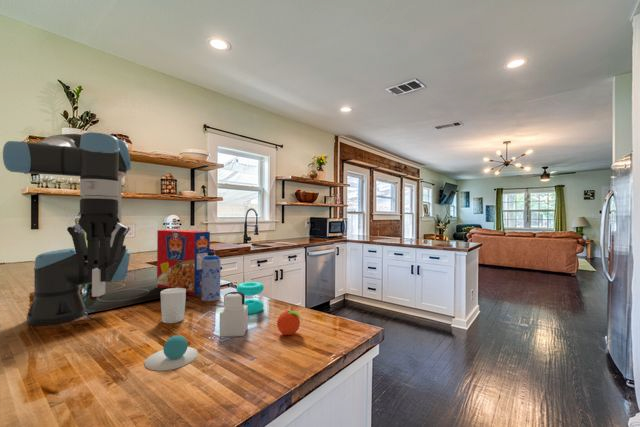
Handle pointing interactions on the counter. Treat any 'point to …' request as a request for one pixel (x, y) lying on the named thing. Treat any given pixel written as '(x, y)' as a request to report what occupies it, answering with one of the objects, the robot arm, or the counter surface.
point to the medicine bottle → (234, 315)
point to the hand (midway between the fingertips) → (98, 294)
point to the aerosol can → (210, 277)
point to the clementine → (288, 322)
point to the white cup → (173, 304)
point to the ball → (175, 347)
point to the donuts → (251, 289)
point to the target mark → (170, 360)
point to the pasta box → (181, 259)
